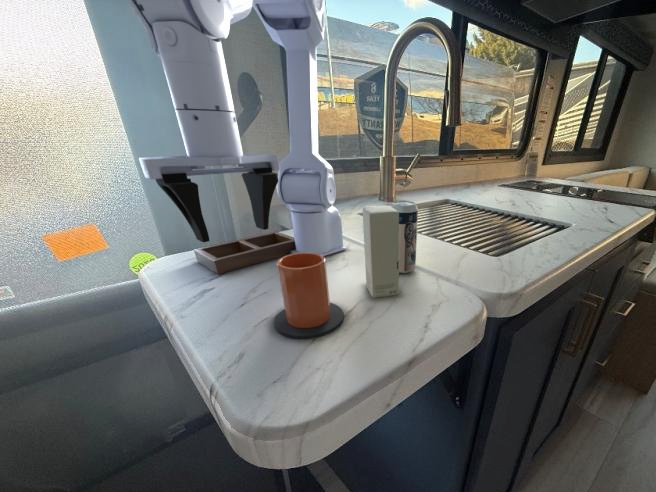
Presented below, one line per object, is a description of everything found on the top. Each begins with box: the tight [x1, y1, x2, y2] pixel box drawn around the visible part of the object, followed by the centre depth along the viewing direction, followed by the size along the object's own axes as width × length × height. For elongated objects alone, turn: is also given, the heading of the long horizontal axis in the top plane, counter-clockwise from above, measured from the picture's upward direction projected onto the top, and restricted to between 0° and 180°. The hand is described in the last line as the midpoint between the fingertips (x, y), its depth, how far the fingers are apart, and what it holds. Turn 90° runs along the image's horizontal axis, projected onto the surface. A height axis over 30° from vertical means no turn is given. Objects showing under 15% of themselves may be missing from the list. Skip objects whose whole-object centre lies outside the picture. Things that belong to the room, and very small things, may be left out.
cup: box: [276, 253, 331, 328], centre depth 40 cm, size 6×6×8 cm
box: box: [362, 205, 400, 298], centre depth 47 cm, size 5×4×13 cm
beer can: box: [390, 200, 419, 274], centre depth 55 cm, size 5×5×12 cm
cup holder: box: [193, 231, 296, 275], centre depth 62 cm, size 9×17×2 cm, turn 140°
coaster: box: [273, 302, 345, 340], centre depth 42 cm, size 9×9×1 cm
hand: (234, 233), depth 41 cm, fingers open, 7 cm apart
